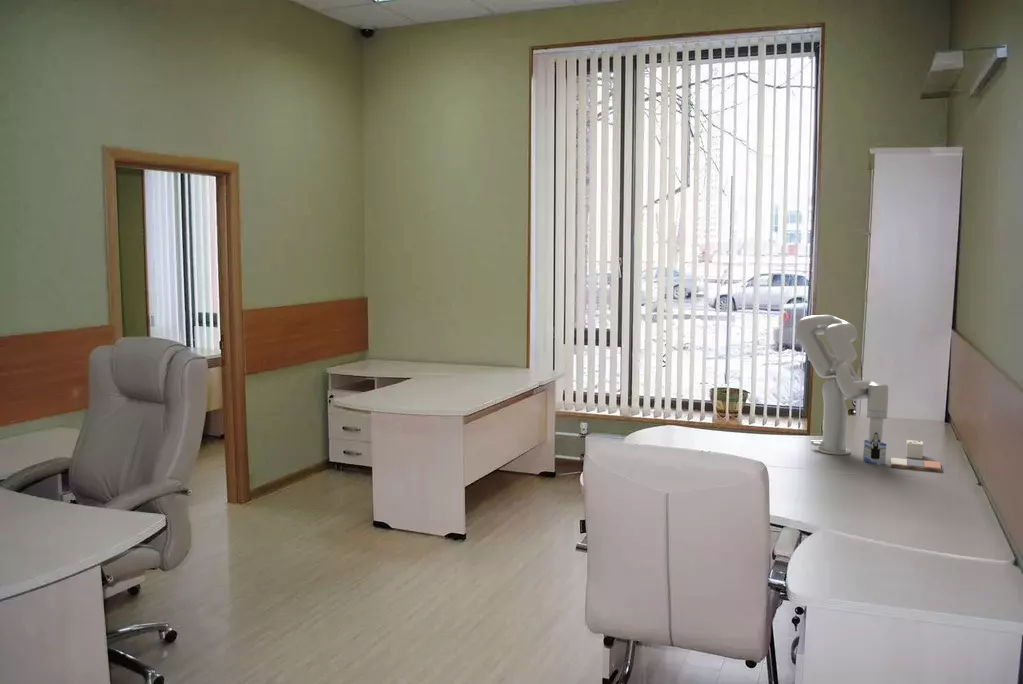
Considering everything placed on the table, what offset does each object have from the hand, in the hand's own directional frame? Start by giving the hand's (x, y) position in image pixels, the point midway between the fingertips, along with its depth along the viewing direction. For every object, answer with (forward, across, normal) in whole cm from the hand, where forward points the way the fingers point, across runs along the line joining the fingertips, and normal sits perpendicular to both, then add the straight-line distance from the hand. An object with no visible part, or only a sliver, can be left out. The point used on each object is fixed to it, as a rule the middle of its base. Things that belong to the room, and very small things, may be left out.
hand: (875, 455), depth 347 cm
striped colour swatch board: (+3, 0, +15) cm, 15 cm away
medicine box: (+3, 0, 0) cm, 3 cm away
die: (+3, -17, +15) cm, 23 cm away
